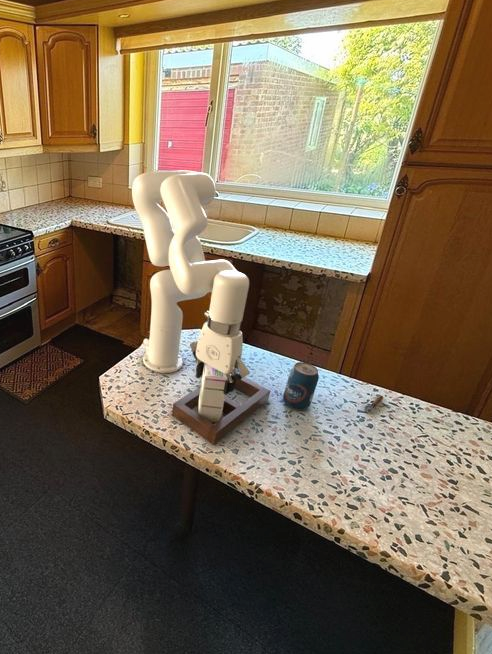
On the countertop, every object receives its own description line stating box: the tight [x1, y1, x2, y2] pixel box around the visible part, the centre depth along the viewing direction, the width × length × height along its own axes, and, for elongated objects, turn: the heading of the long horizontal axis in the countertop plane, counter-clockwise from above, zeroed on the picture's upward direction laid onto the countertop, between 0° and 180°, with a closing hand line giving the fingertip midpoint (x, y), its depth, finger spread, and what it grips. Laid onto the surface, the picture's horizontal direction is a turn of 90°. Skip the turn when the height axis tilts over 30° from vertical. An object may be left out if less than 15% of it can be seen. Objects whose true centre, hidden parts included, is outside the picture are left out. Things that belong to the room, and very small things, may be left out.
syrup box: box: [197, 363, 228, 424], centre depth 102 cm, size 6×6×14 cm
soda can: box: [282, 361, 320, 411], centre depth 108 cm, size 7×7×12 cm
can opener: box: [364, 395, 384, 412], centre depth 110 cm, size 9×2×1 cm, turn 123°
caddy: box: [171, 372, 271, 446], centre depth 108 cm, size 14×25×4 cm, turn 129°
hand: (213, 383), depth 101 cm, fingers closed on syrup box, 7 cm apart
